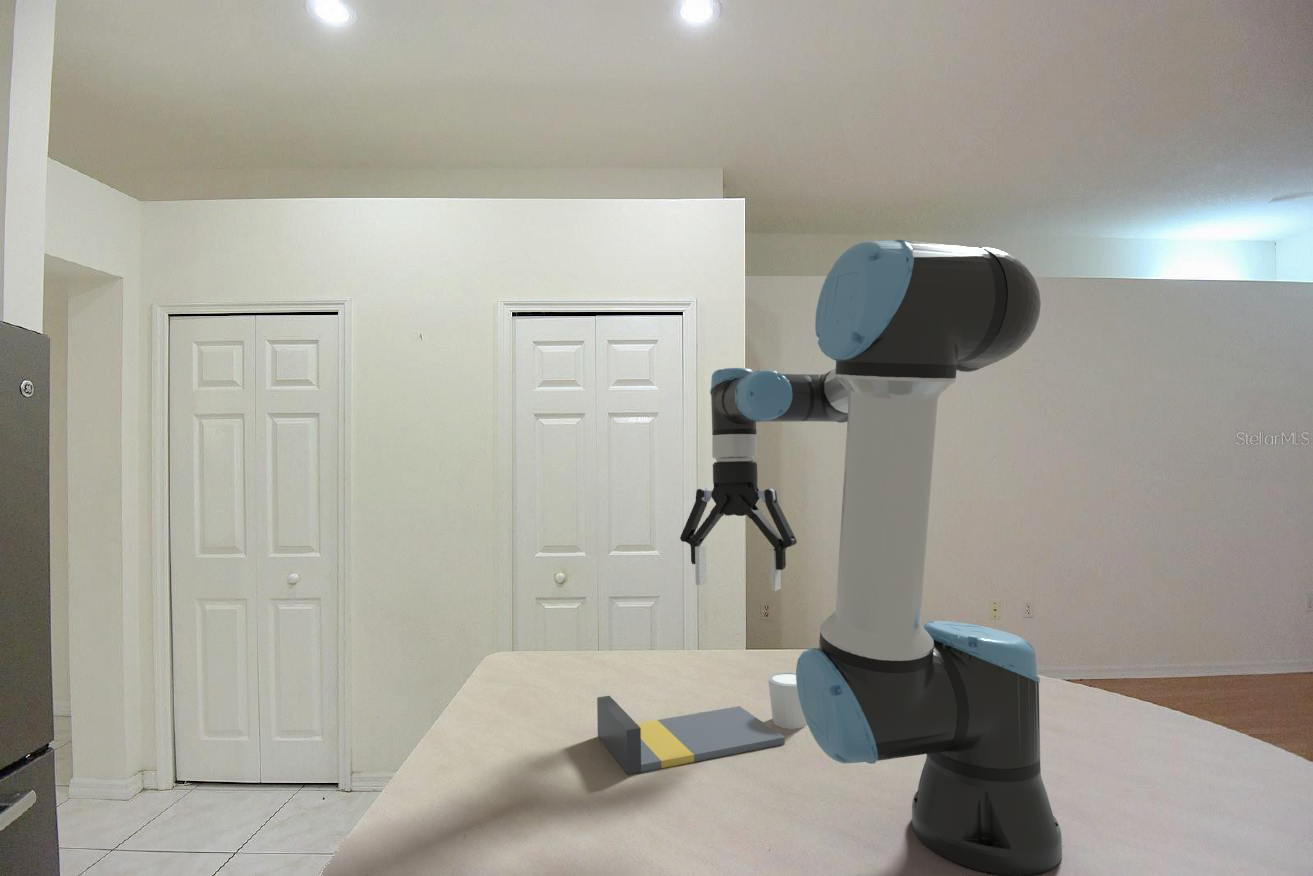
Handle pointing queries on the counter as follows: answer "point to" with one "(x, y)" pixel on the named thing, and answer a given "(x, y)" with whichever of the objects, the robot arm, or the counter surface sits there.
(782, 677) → the shot glass
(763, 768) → the counter surface
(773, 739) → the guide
